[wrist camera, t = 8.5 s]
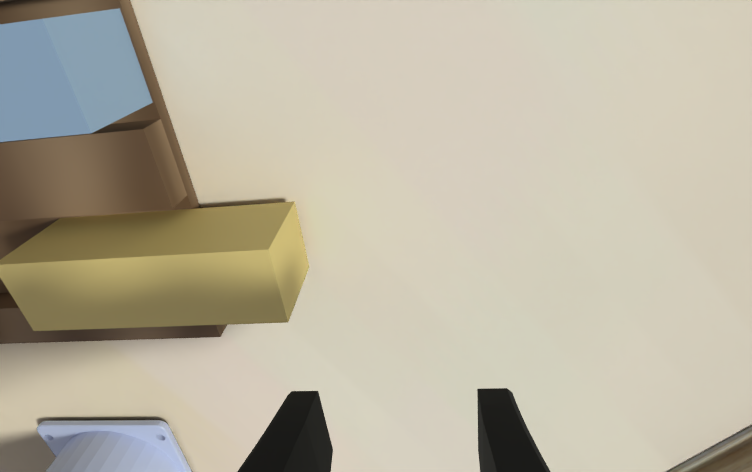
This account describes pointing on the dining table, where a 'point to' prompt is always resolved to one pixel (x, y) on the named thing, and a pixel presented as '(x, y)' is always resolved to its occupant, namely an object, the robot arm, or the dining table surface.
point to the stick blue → (67, 75)
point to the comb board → (90, 178)
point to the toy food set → (723, 456)
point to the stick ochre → (161, 269)
